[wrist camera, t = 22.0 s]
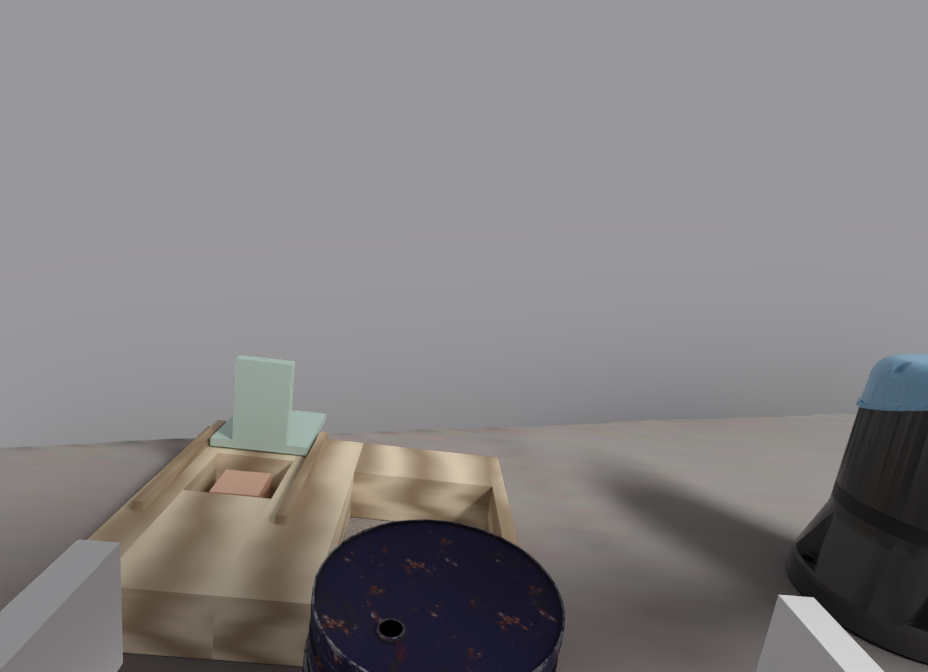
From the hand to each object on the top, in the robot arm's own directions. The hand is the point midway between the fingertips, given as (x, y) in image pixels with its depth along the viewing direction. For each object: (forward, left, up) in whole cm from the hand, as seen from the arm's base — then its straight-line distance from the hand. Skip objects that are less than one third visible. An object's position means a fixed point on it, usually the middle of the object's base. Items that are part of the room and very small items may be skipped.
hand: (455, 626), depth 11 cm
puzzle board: (+31, -10, -21) cm, 39 cm away
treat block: (+38, -4, -21) cm, 44 cm away
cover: (+46, -9, -16) cm, 49 cm away
